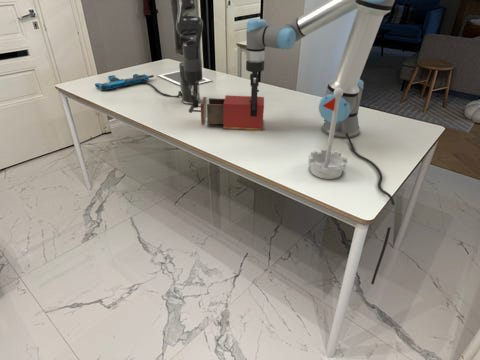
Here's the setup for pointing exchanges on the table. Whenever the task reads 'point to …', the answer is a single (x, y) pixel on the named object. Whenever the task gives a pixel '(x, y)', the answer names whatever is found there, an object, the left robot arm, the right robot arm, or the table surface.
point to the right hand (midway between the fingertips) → (253, 111)
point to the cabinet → (242, 113)
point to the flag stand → (329, 148)
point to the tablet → (176, 78)
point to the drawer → (210, 111)
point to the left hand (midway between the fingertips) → (195, 107)
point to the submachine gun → (122, 81)
